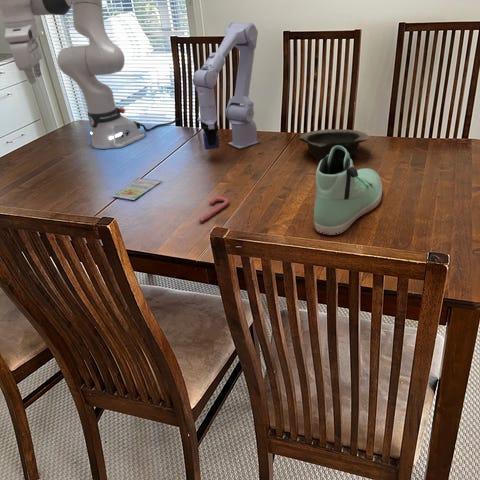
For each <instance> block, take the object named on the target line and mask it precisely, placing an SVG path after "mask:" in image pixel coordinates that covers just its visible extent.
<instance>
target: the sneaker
mask: <svg viewBox="0 0 480 480" xmlns="http://www.w3.org/2000/svg"><path fill="white" fill-rule="evenodd" d="M317 165H318V166H317V168H316V172H315V201H314V207H313V225H314V229H315V231H316V232H318V233H320V234H323V235H326V236H327V235H328V236H336V235H339V234H342V233H344V232H345V231H347V230H348V229H349V228H350V227H351V226H352V225H353V224H354V222H356V221H357V220H358V219H359V218H360V217H362V216H363V215H365V214H367V213H370V212H372V210H374V209H375V208H377V207H378V205H380V203H381V200H382V196H383V184H382V183H383V182H382V179H381V176H380V175H379V173H378V172H377V171H376V170H374V169H372V168H367V167H365V168H358V169H357V168H355V167H354V161H353V159H352V158H351V157H350V156H349V153H348V152H347V150H346V149H345V148H344V147H342V146H334V147H333V148H332V149H331V152H330V154H329V155H327V156H326V157H325V158H324V159H322V160H321V161H320V162H318V164H317ZM343 230H344V231H343ZM319 231H320V232H319ZM322 232H323V233H322ZM339 232H340V233H339ZM326 233H327V234H326ZM328 233H329V234H328ZM335 233H337V234H335Z"/></svg>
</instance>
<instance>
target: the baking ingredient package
mask: <svg viewBox="0 0 480 480" xmlns="http://www.w3.org/2000/svg"><path fill="white" fill-rule="evenodd" d="M160 183H161V181H156V180H152V179H151V180H149V179H143V178H138V179H137V180H135V181H133V182H132V183H130V184H128V185H127V186H125V187H124V188H122V189H121V190H119V191H117V192H116V193H115V194H113V195H112V197H115V198H120V199H125V200H131V201H134V200H136V199H138V198H139V197H141V196H142V195H144V194H145V193H147V192H148V191H149V190H151V189H152V188H154V187H156V186H157V185H158V184H160Z"/></svg>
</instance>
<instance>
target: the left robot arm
mask: <svg viewBox="0 0 480 480" xmlns="http://www.w3.org/2000/svg"><path fill="white" fill-rule="evenodd" d="M71 8H72V10H71ZM70 10H71V11H72V21H73V22H72V23H73V28H74V30H75V31H76V32H77V33H78V34H79V35H81V36H83V37H86V38H87V39H88V41H89V44H87V45H71V46H68V47H64V48H62V49H60V50H59V52H58V54H57V59H56V61H57V66H58V67H59V70H60V71H61V72H62V73H63V75H64V74H65V75H66V76H67V77H69V78H70V79H71V80H73V81H74V83H76V85H77V86H78V88H79V89H80V91H81V93H82V95H83V98H84V101H85V104H86V109H87V118H88V122H89V125H90V127H91V128H90V129H91V131H90V134H91V137H92V138H91V140H92V141H91V147H92V148H94V149H98V150H107V149H121V148H122V149H123V148H124V147H127V146H128V145H131V144H132V143H135V142H137V141H139V140H141V139H143V138H145V137H146V135H145V133H144V132H142V131H140V130H141V127H142V128H143V130H144V131H145V132H150V131H153V130H154V129H157V128H159V127H164V126H169V125H173V124H175V123H176V122H178V121H180V122H182V121H183V119H182V118H179V117H177V118H175V119H174V120H173V121H170V122H165V123H159V124H156V125H154V126H152V127H151V128H146V126H145V124H143V123H140V122H138V121H134V120H131V119H129V118H127V117H125V116H123V115H122V114H125V112H126V109H125V108H124V107H123V108H122V107H117V106H116V103H115V97H114V94H113V90H112V88H111V87H110V86H109V85H107V84H105V83H103V82H101V81H99V79H98V78H97V76H105V75H113V74H116V73H120V72H121V71H122V70H123V69H124V66H125V54H124V53H123V50H122V49H121V47H119V46H118V45H116V44H115V43H114V42H113V41H112V39H110V37H109V36H108V33H107V31H106V28H105V21H104V11H103V10H104V9H103V0H0V12H1V15H2V23H3V27H4V31H5V32H4V39H5V42H6V43H7V44H9V49H10V52H11V56H12V57H13V60H14V63H15V65H16V68H17V69H18V70H19V71H20V72H21V71H23V72H24V74H25V76H26V78H27V81H28V83H29V84H30V85H32V84H33V85H34V84H36V83H37V79H36V78H40V77H42V70H41V62H40V61H41V60H42V59H43V52H42V50H41V45H40V43H39V39H38V37H40V33H39V28H38V25H37V21H36V18H35V16H49V15H53V16H65V15H67V13H68V12H69V11H70ZM139 129H140V130H139Z"/></svg>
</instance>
